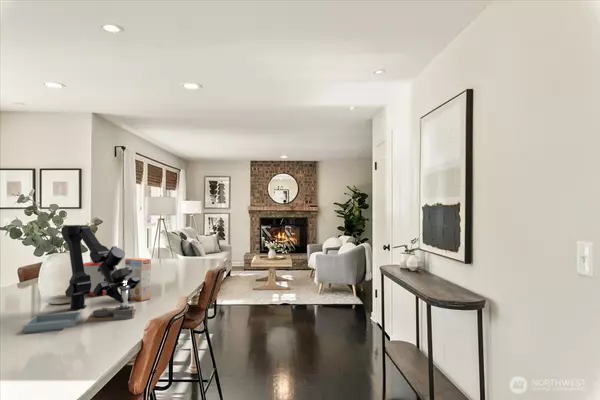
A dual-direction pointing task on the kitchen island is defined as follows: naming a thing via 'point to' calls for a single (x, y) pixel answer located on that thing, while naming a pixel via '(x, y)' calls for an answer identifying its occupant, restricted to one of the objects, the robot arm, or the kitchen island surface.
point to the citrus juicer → (94, 276)
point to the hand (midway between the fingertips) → (126, 301)
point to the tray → (51, 322)
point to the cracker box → (140, 277)
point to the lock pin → (124, 296)
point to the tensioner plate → (111, 314)
